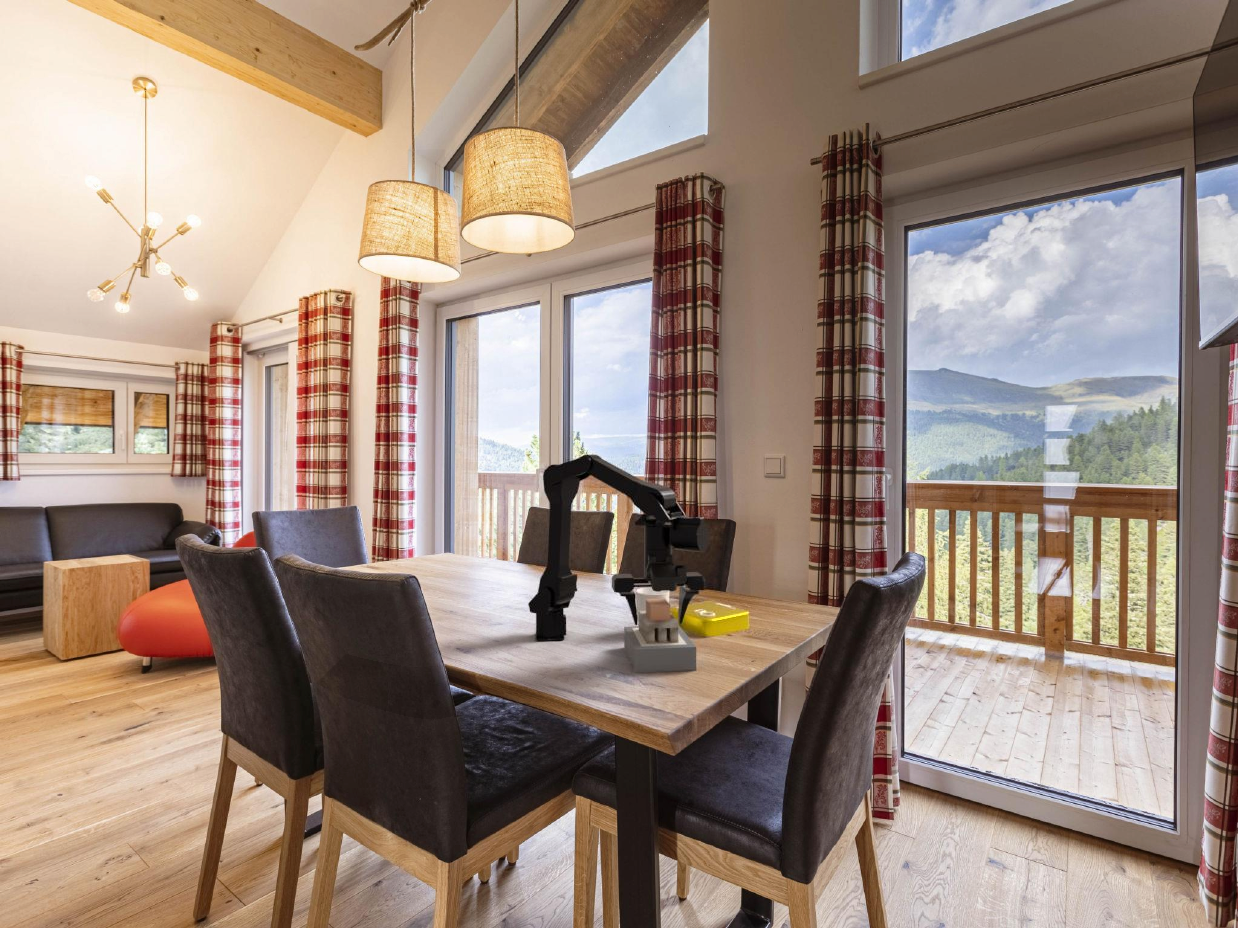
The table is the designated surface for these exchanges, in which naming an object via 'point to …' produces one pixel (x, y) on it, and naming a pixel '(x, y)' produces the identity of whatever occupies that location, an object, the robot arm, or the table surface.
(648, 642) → the grey slotted block
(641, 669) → the dock
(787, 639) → the table surface
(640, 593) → the white cup
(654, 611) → the orange block
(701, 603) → the element tile
